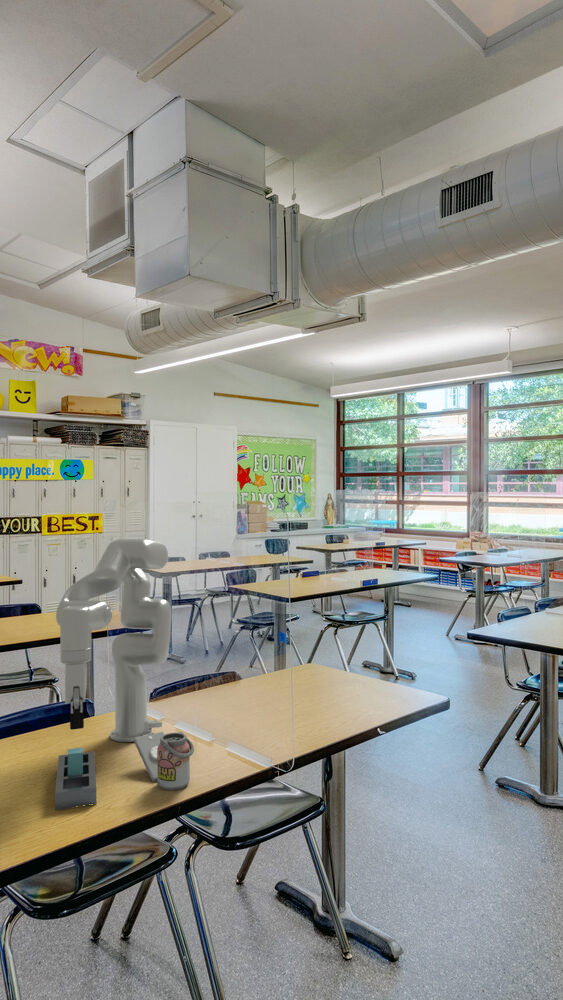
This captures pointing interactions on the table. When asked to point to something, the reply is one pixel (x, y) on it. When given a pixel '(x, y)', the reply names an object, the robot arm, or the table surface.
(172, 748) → the beverage can
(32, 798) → the table surface
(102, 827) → the table surface
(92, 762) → the hole rail
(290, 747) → the table surface
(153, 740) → the light switch
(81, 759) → the square peg
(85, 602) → the robot arm
